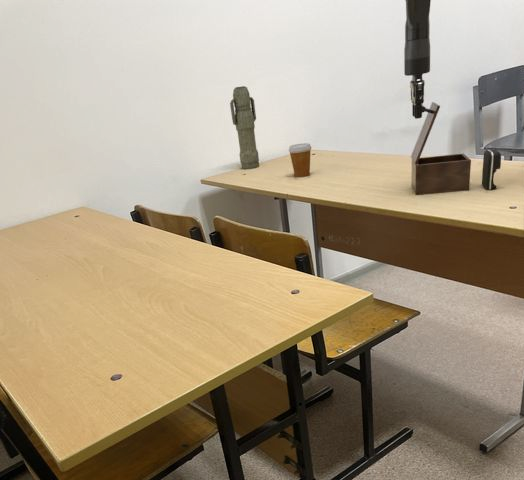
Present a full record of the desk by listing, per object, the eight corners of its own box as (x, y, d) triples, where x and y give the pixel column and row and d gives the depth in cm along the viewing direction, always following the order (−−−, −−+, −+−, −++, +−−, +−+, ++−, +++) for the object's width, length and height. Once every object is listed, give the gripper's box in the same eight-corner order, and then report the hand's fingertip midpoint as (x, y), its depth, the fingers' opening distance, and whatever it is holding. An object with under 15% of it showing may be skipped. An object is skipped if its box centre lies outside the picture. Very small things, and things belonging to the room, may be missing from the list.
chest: (462, 182, 181) (463, 153, 176) (469, 190, 171) (471, 160, 166) (411, 186, 184) (411, 158, 179) (415, 195, 174) (415, 165, 169)
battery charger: (499, 189, 167) (503, 151, 162) (487, 190, 168) (490, 153, 162) (493, 184, 173) (496, 147, 168) (480, 185, 174) (483, 149, 168)
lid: (434, 102, 170) (419, 98, 170) (440, 106, 160) (424, 101, 160) (412, 157, 179) (398, 153, 179) (417, 164, 169) (402, 159, 169)
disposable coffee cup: (301, 172, 230) (298, 143, 224) (318, 173, 223) (316, 143, 217) (286, 177, 224) (283, 147, 218) (303, 178, 218) (300, 147, 212)
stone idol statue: (265, 165, 255) (256, 84, 238) (246, 170, 249) (235, 88, 232) (254, 164, 261) (244, 85, 244) (235, 169, 255) (224, 89, 238)
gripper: (433, 55, 153) (432, 118, 161) (426, 54, 165) (426, 113, 173) (406, 59, 154) (407, 121, 162) (402, 58, 166) (402, 116, 175)
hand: (417, 116), depth 168 cm, fingers closed on lid, 5 cm apart
